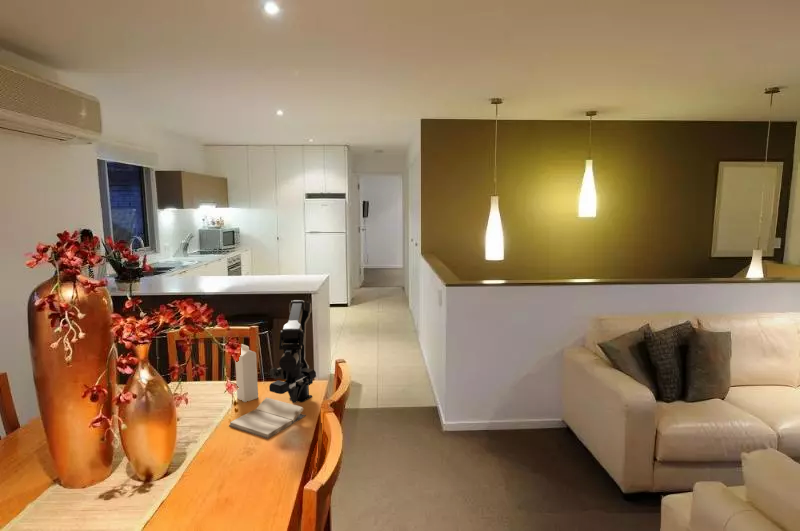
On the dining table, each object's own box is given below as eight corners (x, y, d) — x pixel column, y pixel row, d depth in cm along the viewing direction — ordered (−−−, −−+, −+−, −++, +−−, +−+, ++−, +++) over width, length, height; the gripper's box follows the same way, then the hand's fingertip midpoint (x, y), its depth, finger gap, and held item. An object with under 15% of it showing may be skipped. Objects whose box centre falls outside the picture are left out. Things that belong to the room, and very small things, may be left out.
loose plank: (267, 399, 175) (266, 397, 175) (303, 409, 167) (302, 407, 166) (256, 411, 171) (255, 409, 171) (293, 422, 162) (292, 419, 162)
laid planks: (255, 412, 170) (255, 409, 170) (291, 423, 162) (291, 420, 161) (230, 425, 160) (230, 422, 160) (267, 437, 152) (267, 434, 152)
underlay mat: (268, 405, 177) (268, 404, 177) (305, 415, 168) (305, 415, 168) (228, 426, 161) (228, 425, 161) (267, 438, 152) (267, 438, 152)
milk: (244, 402, 180) (241, 348, 177) (237, 398, 184) (233, 345, 181) (258, 397, 184) (255, 344, 181) (250, 393, 188) (248, 341, 185)
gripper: (293, 350, 177) (295, 389, 179) (256, 365, 160) (259, 408, 163) (316, 355, 171) (317, 395, 173) (280, 371, 155) (282, 414, 157)
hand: (294, 402), depth 167 cm, fingers closed
